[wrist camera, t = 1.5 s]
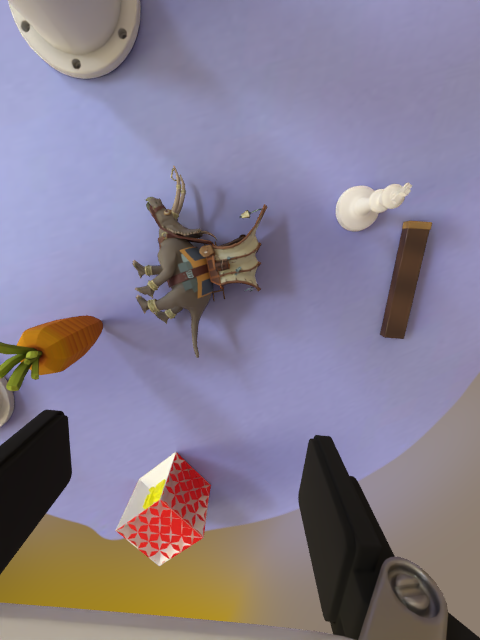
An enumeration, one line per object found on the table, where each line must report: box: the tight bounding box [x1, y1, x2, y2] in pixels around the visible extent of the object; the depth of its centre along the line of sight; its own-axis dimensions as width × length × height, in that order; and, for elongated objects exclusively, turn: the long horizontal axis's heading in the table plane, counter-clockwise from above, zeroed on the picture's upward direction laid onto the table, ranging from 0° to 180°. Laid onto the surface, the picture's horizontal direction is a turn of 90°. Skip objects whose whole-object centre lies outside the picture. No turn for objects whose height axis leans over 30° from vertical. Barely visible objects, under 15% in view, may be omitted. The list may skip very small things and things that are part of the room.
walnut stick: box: [380, 221, 432, 339], centre depth 33 cm, size 14×3×1 cm, turn 176°
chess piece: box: [336, 183, 412, 231], centre depth 27 cm, size 5×5×10 cm
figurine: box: [132, 166, 267, 358], centre depth 30 cm, size 20×6×17 cm
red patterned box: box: [116, 452, 211, 566], centre depth 38 cm, size 8×8×8 cm
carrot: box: [0, 316, 103, 391], centre depth 28 cm, size 5×5×15 cm
